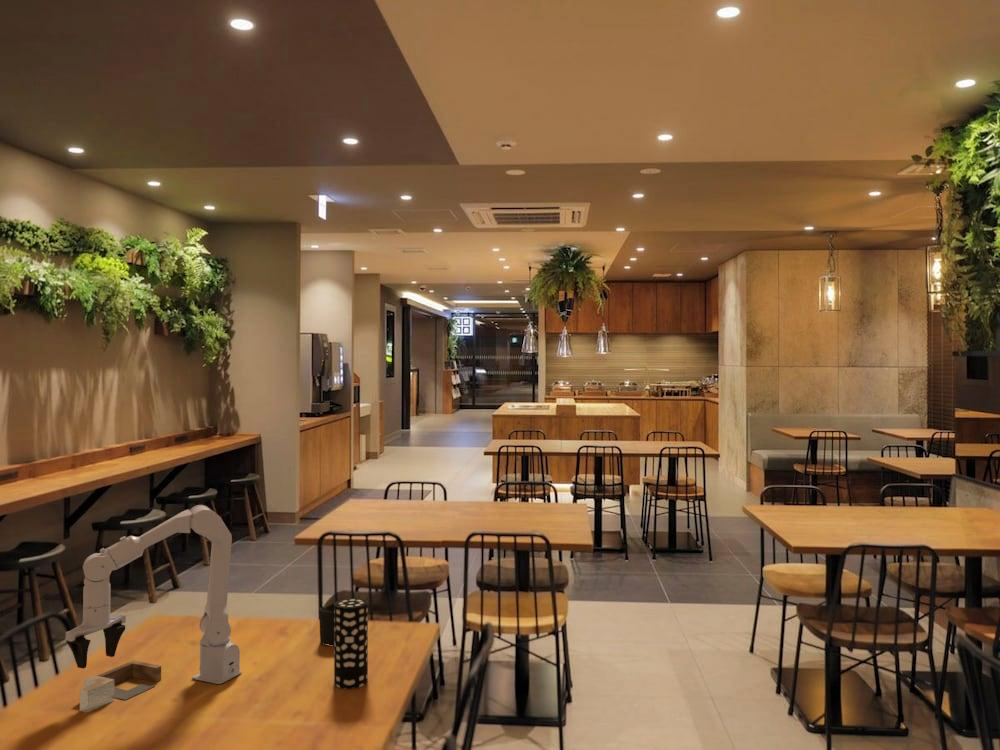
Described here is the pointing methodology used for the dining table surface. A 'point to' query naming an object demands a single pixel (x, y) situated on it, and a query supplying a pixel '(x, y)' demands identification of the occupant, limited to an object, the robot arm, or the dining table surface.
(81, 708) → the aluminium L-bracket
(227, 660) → the robot arm
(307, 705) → the dining table surface
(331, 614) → the pen holder
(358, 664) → the white-spotted black cylinder
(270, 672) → the dining table surface
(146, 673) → the corner jig
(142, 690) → the L-shaped mat
